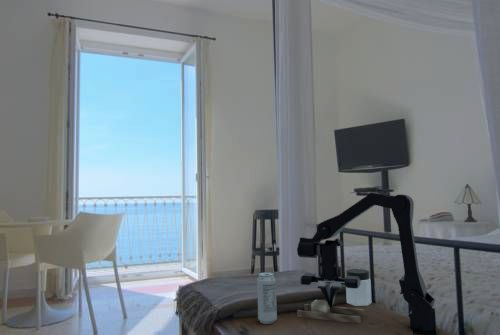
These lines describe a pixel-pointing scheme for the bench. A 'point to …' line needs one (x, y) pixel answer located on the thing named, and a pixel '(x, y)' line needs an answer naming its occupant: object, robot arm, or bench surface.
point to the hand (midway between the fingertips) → (331, 307)
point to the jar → (359, 288)
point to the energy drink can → (266, 298)
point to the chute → (333, 316)
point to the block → (320, 306)
